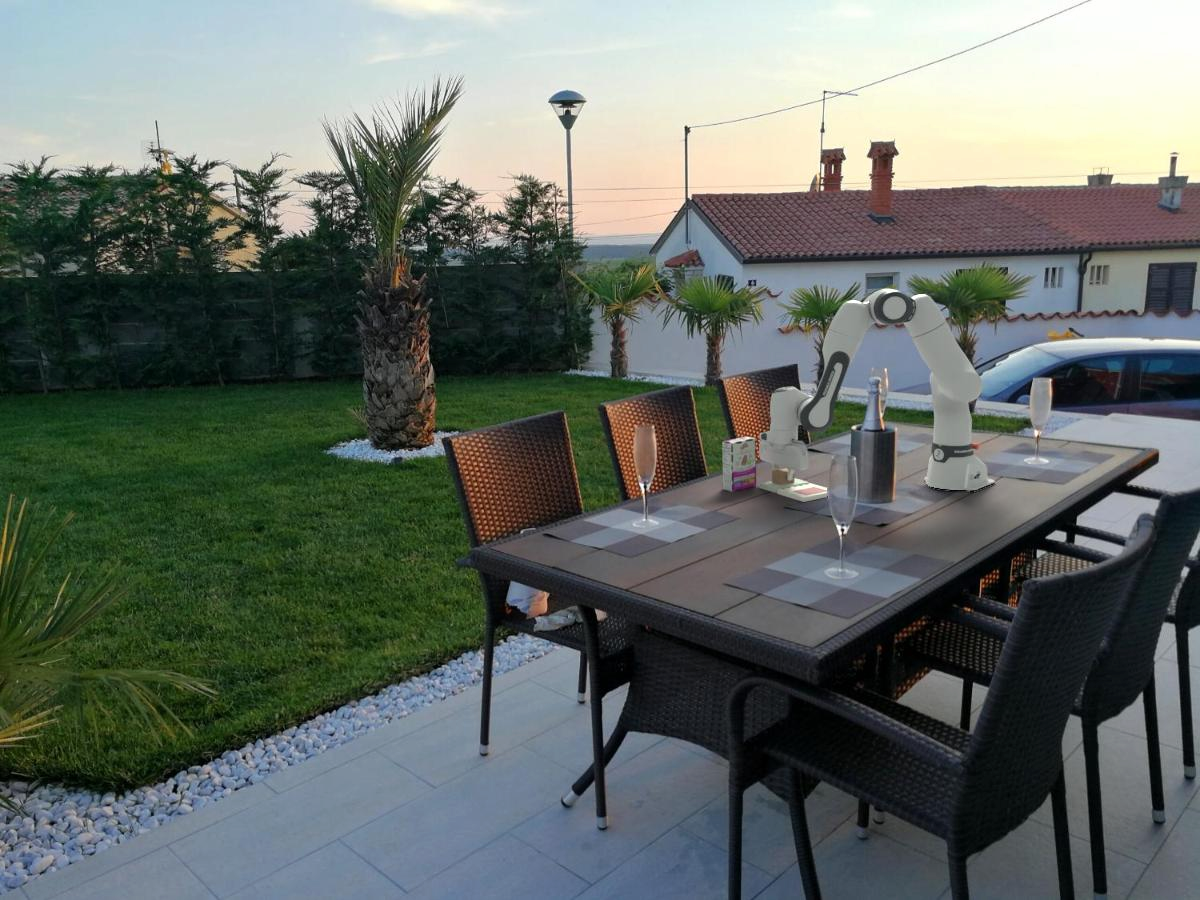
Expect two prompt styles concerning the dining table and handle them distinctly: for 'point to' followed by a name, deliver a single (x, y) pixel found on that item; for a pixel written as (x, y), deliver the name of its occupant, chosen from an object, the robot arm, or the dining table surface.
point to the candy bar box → (739, 463)
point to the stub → (781, 481)
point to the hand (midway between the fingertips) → (783, 478)
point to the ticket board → (804, 492)
